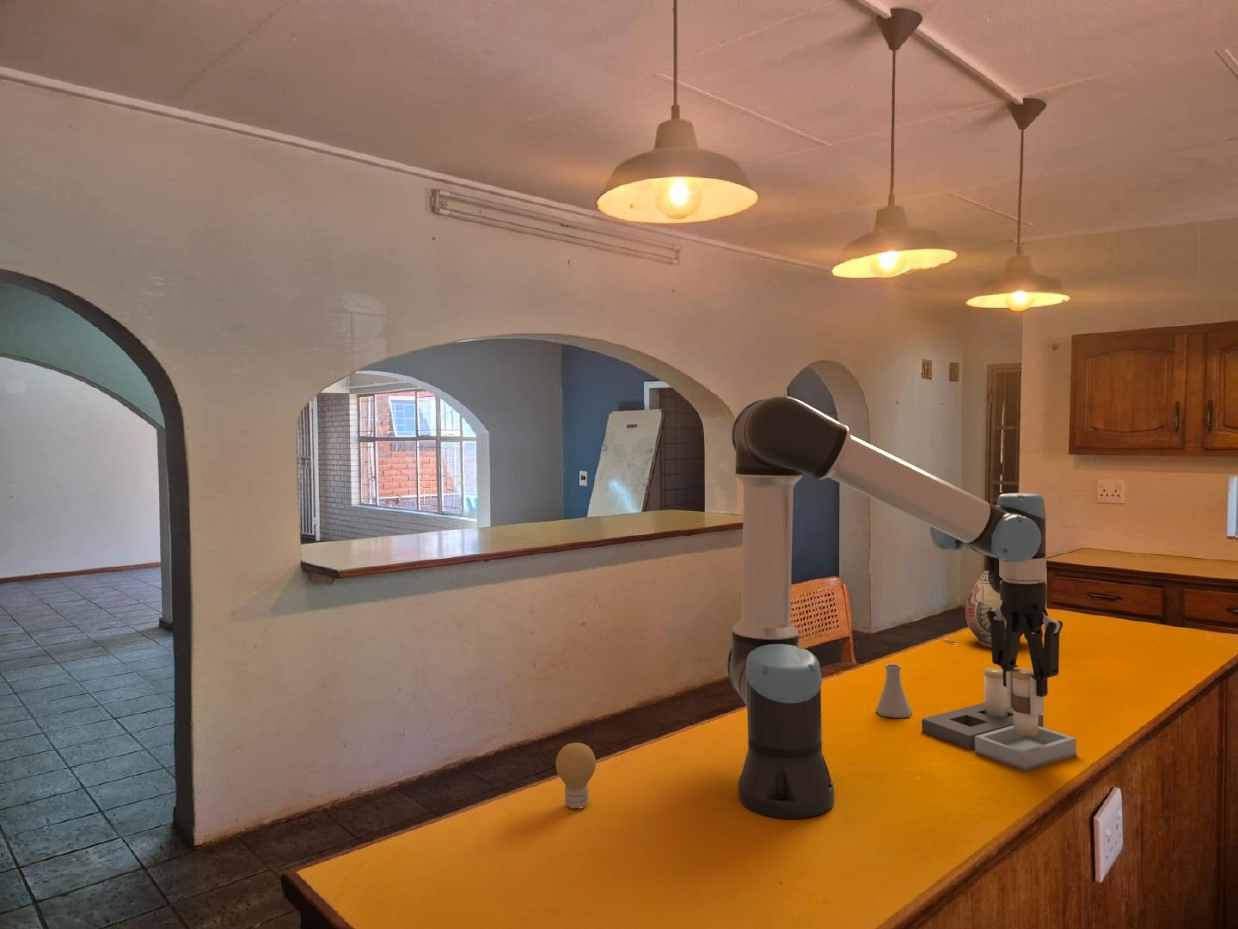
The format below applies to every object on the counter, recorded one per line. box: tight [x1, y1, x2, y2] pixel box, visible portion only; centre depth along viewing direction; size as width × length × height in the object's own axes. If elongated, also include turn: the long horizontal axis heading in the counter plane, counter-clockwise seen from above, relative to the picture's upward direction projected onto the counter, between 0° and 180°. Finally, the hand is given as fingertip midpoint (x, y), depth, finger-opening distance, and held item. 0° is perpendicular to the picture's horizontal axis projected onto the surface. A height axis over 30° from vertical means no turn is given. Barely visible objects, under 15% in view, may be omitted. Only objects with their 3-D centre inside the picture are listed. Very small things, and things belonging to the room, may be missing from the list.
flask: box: [875, 663, 913, 719], centre depth 170 cm, size 7×7×10 cm
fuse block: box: [921, 702, 1044, 750], centre depth 159 cm, size 21×11×2 cm, turn 118°
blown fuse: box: [1012, 667, 1038, 736], centre depth 146 cm, size 4×4×11 cm
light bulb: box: [555, 742, 597, 809], centre depth 130 cm, size 6×6×10 cm
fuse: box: [984, 667, 1008, 719], centre depth 161 cm, size 4×4×11 cm
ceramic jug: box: [964, 555, 1024, 649], centre depth 221 cm, size 17×15×30 cm
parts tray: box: [974, 726, 1077, 773], centre depth 147 cm, size 14×10×3 cm
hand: (1025, 709), depth 146 cm, fingers closed on blown fuse, 4 cm apart
